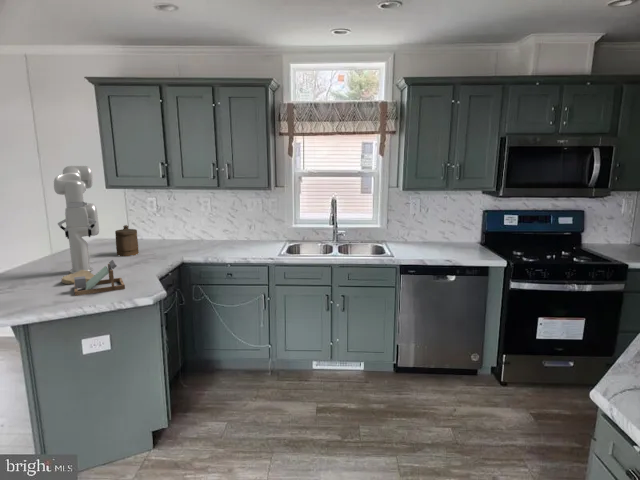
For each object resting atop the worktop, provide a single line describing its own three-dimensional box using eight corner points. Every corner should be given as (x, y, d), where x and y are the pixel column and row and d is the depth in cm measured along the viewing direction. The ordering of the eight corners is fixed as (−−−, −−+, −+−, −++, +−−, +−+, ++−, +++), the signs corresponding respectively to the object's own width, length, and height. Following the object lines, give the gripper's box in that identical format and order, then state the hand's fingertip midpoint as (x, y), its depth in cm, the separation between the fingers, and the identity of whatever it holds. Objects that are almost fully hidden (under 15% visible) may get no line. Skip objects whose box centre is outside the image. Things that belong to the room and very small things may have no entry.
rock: (100, 276, 241) (99, 269, 240) (96, 284, 227) (95, 277, 226) (66, 277, 235) (66, 270, 234) (60, 286, 221) (59, 278, 220)
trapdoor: (86, 285, 220) (84, 283, 219) (114, 261, 225) (112, 259, 224) (87, 292, 208) (85, 290, 207) (117, 266, 214) (114, 264, 213)
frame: (74, 287, 218) (72, 267, 216) (121, 280, 230) (119, 262, 228) (75, 295, 204) (72, 275, 202) (125, 288, 216) (123, 269, 214)
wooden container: (136, 251, 309) (134, 223, 304) (140, 255, 296) (138, 225, 292) (115, 253, 301) (113, 224, 296) (118, 257, 288) (115, 227, 284)
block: (85, 285, 216) (75, 286, 213) (85, 276, 215) (74, 277, 212) (86, 287, 211) (75, 288, 209) (85, 278, 211) (74, 279, 208)
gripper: (94, 203, 214) (97, 235, 217) (55, 205, 204) (59, 237, 208) (95, 205, 207) (98, 237, 211) (55, 206, 198) (59, 240, 201)
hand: (78, 237), depth 209 cm, fingers open, 9 cm apart
